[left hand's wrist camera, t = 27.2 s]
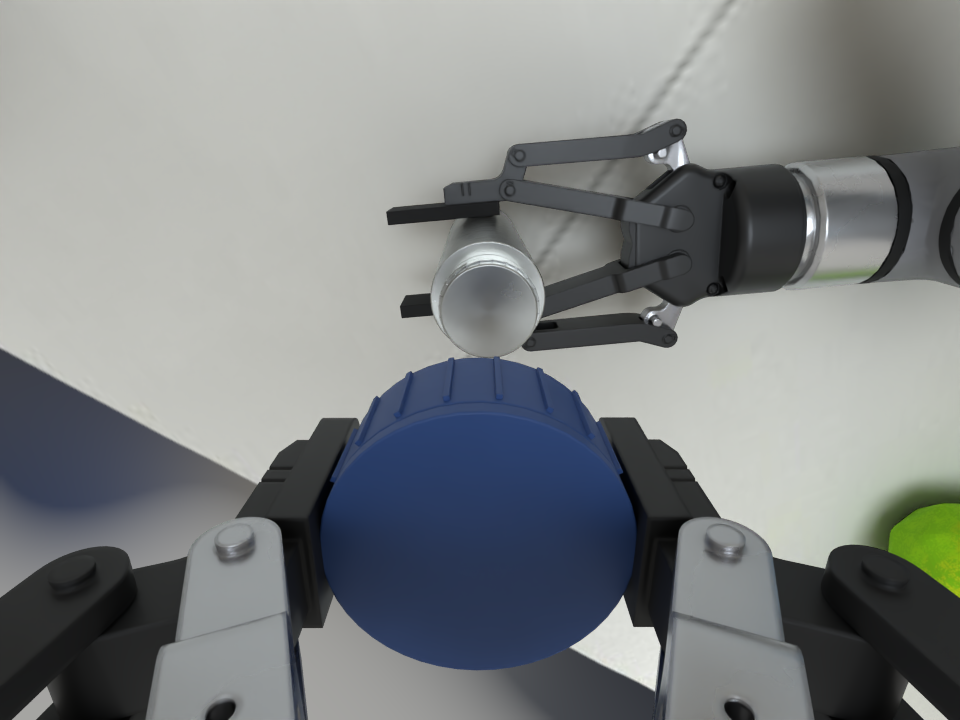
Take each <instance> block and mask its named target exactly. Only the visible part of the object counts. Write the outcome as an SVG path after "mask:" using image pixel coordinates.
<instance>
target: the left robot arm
mask: <svg viewBox="0 0 960 720" xmlns="http://www.w3.org/2000/svg"><path fill="white" fill-rule="evenodd" d="M599 421H600V422H601V424H602V426H603V428H604V431H605V433H606V435H607V437H608V440H609V442H610V444H611V446H612V448H613V451H614V453H615V455H616V457H617V460H618V462H619V464H620V466H621V468H622V471H623V473H621V474H619V476H620V478H621V481H622V483H623V485H624V488H625V490H626V492H627V495H628V497H629V499H630V502H631V504H632V507H633V511H634V515H635V519H636V524H637V537H636V546H635V554H634V562H633V570H632V576H631V579H630V581H629V584H628V586H627V589H626V591H625V592H624V594H623V595H624V599H625V602H626V605H627V608H628V611H629V614H630V617H631V620H632V623H633V626H634V627H654V629H655V631H656V634H657V637H658V640H659V642H660V645H661V647H660V653H659V660H658V670H657V679H656V688H655V698H654V707H653V717H652V720H924V719H923V718H922V717H921V716H920V715H919V714H918V713H917V712H916V711H915V710H914V709H913V708H912V707H911V706H910V705H909V704H908V703H907V702H906V701H905V700H904V699H903V698H902V697H903V694H904V692H905V689H906V687H907V684H908V682H909V683H911V684H912V685H913V686H914V687H915V688H916V689H917V690H918V691H919V692H920V693H921V694H922V695H923V696H924V697H925V698H926V699H927V700H928V701H929V702H930V703H931V704H932V705H933V706H934V707H936V708H937V709H938V710H939V711H940V712H941V713H942V714H943V715H944V716H945V717H946V718H947V719H948V720H960V598H959V597H958V596H957V595H955V594H954V593H953V592H951V591H950V590H948V589H947V588H946V587H944V586H943V585H942V584H940V583H939V582H938V581H936V580H935V579H934V578H932V577H931V576H930V575H928V574H927V573H926V572H924V571H923V570H921V569H920V568H919V567H917V566H916V565H914V564H912V563H911V562H909V561H907V560H905V559H903V558H901V557H899V556H897V555H895V554H892V553H890V552H887V551H884V550H881V549H878V548H874V547H869V546H863V545H844V546H840V547H837V548H835V549H834V550H833V551H832V552H831V553H830V555H829V557H828V561H827V564H826V568H825V569H823V568H819V567H814V566H809V565H805V564H800V563H795V562H791V561H786V560H782V559H778V558H775V557H773V556H772V552H771V549H770V548H769V546H768V544H767V543H766V542H765V541H764V539H762V538H761V537H760V536H759V535H758V534H757V533H755V532H754V531H752V530H751V529H749V528H747V527H745V526H743V525H741V524H739V523H736V522H733V521H731V520H727V519H723V518H721V517H720V516H719V514H718V513H717V511H716V510H715V508H714V507H713V505H712V504H711V502H710V500H709V499H708V497H707V496H706V494H705V493H704V491H703V490H702V488H701V487H700V485H699V484H698V482H695V478H694V476H693V475H692V473H691V472H690V470H689V469H687V465H686V464H685V462H684V461H683V459H682V458H681V456H680V455H679V453H678V452H677V451H676V450H674V449H673V448H671V447H670V446H668V445H667V444H666V443H664V442H663V441H661V440H648V439H647V437H646V436H645V434H644V432H643V430H642V429H641V427H640V425H639V423H638V422H637V420H636V419H635V418H600V419H599ZM359 427H360V425H359V421H358V419H357V418H322V419H321V421H320V422H319V424H318V426H317V427H316V429H315V431H314V432H313V434H312V436H311V437H310V439H309V440H297V441H295V442H294V443H292V444H291V445H289V446H288V447H286V448H285V449H284V450H282V451H281V452H279V454H278V455H277V457H276V458H275V460H274V461H273V463H272V464H271V466H270V469H269V470H267V472H266V473H265V475H264V476H263V478H262V481H261V482H259V484H258V485H257V487H256V488H255V490H254V491H253V493H252V494H251V496H250V497H249V499H248V500H247V502H246V503H245V505H244V506H243V508H242V509H241V511H240V512H239V514H238V515H237V517H236V518H235V519H233V520H229V521H227V522H224V523H221V524H219V525H217V526H215V527H213V528H211V529H209V530H208V531H206V532H205V533H203V534H202V535H201V536H200V537H199V538H198V539H196V541H195V542H194V543H193V544H192V546H191V548H190V549H189V552H188V556H187V557H184V558H181V559H178V560H174V561H170V562H165V563H160V564H156V565H151V566H146V567H142V568H137V569H132V566H131V563H130V559H129V557H128V554H127V553H126V552H125V551H123V550H121V549H119V548H115V547H108V546H103V547H92V548H87V549H83V550H79V551H76V552H73V553H70V554H67V555H65V556H62V557H60V558H58V559H56V560H54V561H52V562H50V563H48V564H46V565H45V566H43V567H42V568H40V569H39V570H37V571H36V572H34V573H33V574H32V575H30V576H29V577H28V578H26V579H25V580H24V581H22V582H21V583H20V584H18V585H17V586H16V587H14V588H13V589H11V590H10V591H9V592H7V593H6V594H5V595H3V596H2V597H1V598H0V720H12V719H13V718H14V717H15V716H16V715H17V714H18V713H19V712H20V711H21V710H22V709H23V708H24V707H25V706H27V705H28V704H29V703H30V702H31V701H32V700H33V699H34V698H35V697H36V696H37V695H38V694H39V693H40V692H41V691H42V690H43V689H44V688H45V687H46V686H47V687H48V690H49V692H50V695H51V697H52V700H53V703H52V704H51V705H50V707H48V708H47V709H46V710H45V711H44V712H43V713H42V714H41V715H40V716H39V717H38V718H37V719H36V720H308V716H307V707H306V698H305V688H304V679H303V670H302V660H301V653H300V647H299V641H298V638H299V635H300V633H301V630H302V628H323V625H324V622H325V619H326V616H327V613H328V610H329V607H330V604H331V601H332V598H333V595H334V594H333V592H332V590H331V588H330V586H329V584H328V581H327V578H326V575H325V572H324V565H323V558H322V550H321V541H320V526H321V519H322V514H323V511H324V508H325V505H326V502H327V499H328V497H329V494H330V492H331V490H332V488H333V485H334V482H331V481H330V480H331V477H332V475H333V473H334V471H335V469H336V466H337V464H338V462H339V460H340V458H341V456H342V453H343V451H344V449H345V447H346V445H347V442H348V440H349V438H350V436H351V434H352V431H353V429H354V428H355V429H357V430H358V429H359Z"/></svg>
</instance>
